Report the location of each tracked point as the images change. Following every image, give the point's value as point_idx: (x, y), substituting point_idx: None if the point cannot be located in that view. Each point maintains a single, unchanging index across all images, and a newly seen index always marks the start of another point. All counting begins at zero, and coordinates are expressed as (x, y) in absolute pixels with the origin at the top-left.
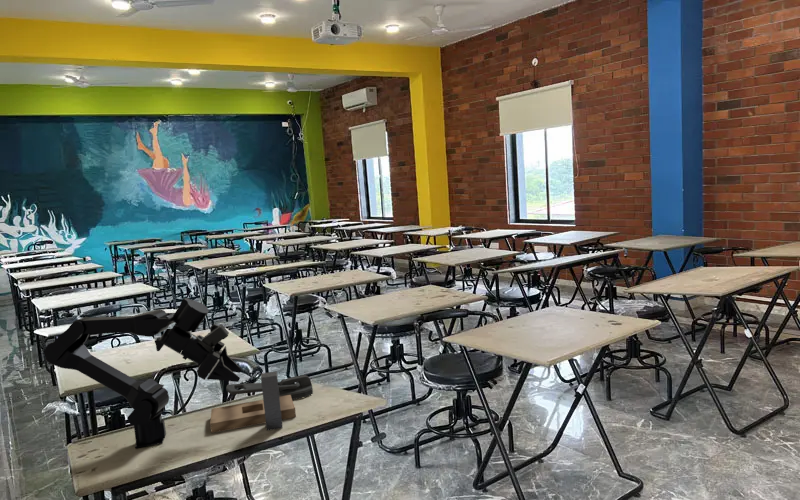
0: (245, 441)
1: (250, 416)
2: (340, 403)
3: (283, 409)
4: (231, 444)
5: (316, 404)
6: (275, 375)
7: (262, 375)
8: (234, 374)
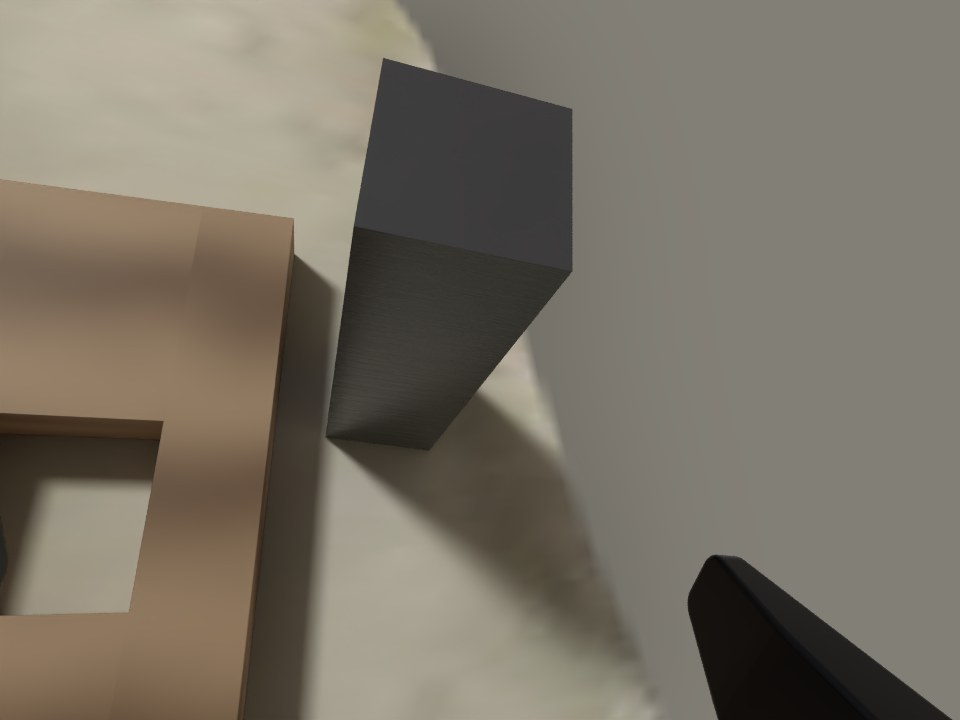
0: (543, 597)
1: (257, 538)
2: (232, 11)
3: (272, 287)
4: (552, 698)
5: (141, 101)
6: (558, 117)
7: (469, 233)
8: (863, 653)
